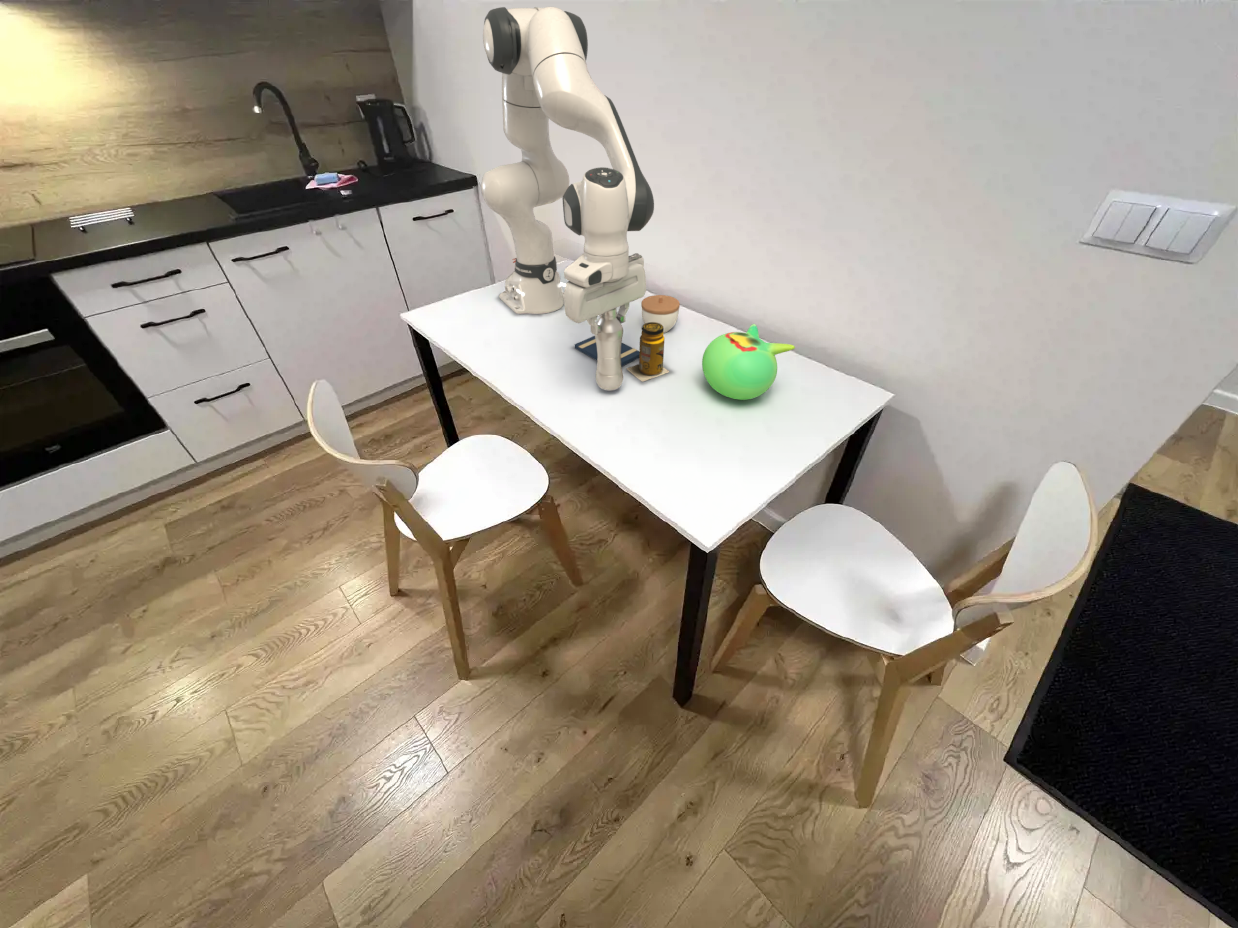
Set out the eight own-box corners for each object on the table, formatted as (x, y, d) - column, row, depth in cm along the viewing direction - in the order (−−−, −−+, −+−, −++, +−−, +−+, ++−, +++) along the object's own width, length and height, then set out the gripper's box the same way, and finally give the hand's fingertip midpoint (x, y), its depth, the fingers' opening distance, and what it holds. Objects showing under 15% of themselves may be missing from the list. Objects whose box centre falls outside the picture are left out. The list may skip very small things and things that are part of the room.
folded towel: (574, 348, 134) (574, 344, 133) (602, 336, 139) (601, 332, 138) (614, 370, 125) (614, 366, 124) (642, 356, 130) (642, 352, 129)
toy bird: (687, 379, 122) (692, 324, 112) (744, 365, 127) (754, 311, 117) (726, 419, 109) (736, 361, 100) (789, 401, 114) (804, 344, 104)
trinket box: (675, 319, 146) (677, 288, 140) (680, 336, 138) (682, 304, 132) (639, 320, 146) (640, 289, 140) (641, 337, 138) (642, 305, 132)
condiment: (669, 372, 124) (672, 328, 116) (642, 382, 121) (643, 338, 113) (652, 360, 129) (654, 316, 121) (625, 369, 126) (625, 325, 118)
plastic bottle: (609, 375, 121) (607, 297, 108) (629, 386, 118) (629, 307, 104) (590, 386, 118) (585, 306, 105) (609, 397, 115) (607, 317, 101)
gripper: (632, 247, 105) (632, 308, 115) (556, 272, 95) (563, 338, 104) (654, 254, 102) (651, 317, 111) (577, 282, 92) (582, 348, 101)
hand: (608, 327), depth 108 cm, fingers closed on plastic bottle, 6 cm apart
